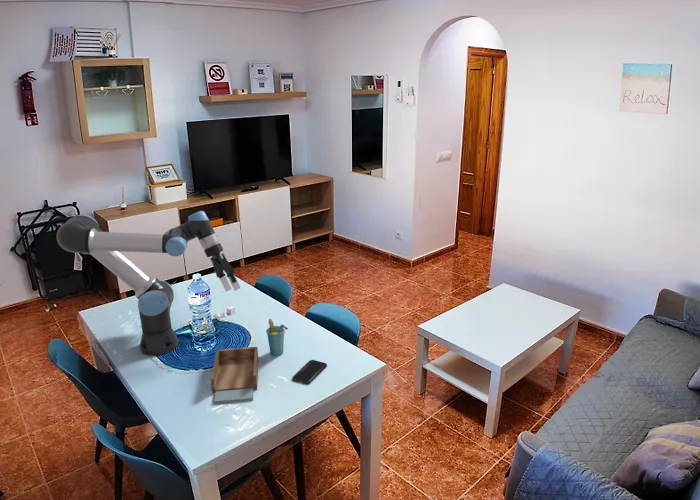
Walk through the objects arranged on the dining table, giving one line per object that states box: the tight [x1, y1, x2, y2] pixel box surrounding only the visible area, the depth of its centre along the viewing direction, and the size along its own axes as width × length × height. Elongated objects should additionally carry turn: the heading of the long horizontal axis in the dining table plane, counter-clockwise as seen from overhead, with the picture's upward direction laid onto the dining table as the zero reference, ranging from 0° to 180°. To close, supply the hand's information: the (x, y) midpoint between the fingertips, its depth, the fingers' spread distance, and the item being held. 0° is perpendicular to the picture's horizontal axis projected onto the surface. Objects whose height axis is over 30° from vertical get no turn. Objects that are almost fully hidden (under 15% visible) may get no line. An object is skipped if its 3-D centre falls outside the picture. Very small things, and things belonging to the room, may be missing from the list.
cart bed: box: [210, 346, 259, 394], centre depth 195 cm, size 16×21×6 cm
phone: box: [291, 359, 328, 385], centre depth 197 cm, size 8×1×15 cm
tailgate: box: [213, 388, 255, 405], centre depth 182 cm, size 13×1×6 cm
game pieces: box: [212, 305, 237, 321], centre depth 243 cm, size 12×3×3 cm, turn 146°
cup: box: [265, 318, 289, 357], centre depth 208 cm, size 14×8×15 cm, turn 45°
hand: (233, 289), depth 222 cm, fingers open, 13 cm apart
